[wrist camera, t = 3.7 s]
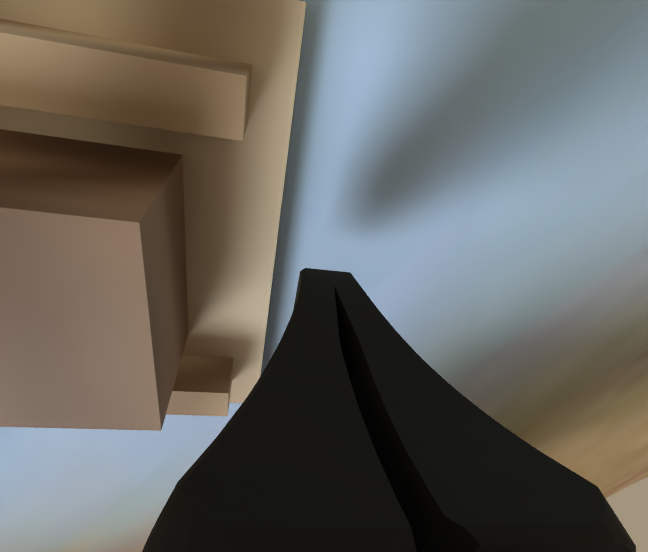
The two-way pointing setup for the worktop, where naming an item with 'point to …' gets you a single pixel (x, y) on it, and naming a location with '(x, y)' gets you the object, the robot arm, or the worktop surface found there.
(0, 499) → the worktop surface
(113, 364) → the block
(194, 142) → the guide channel
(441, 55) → the worktop surface
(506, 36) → the worktop surface
